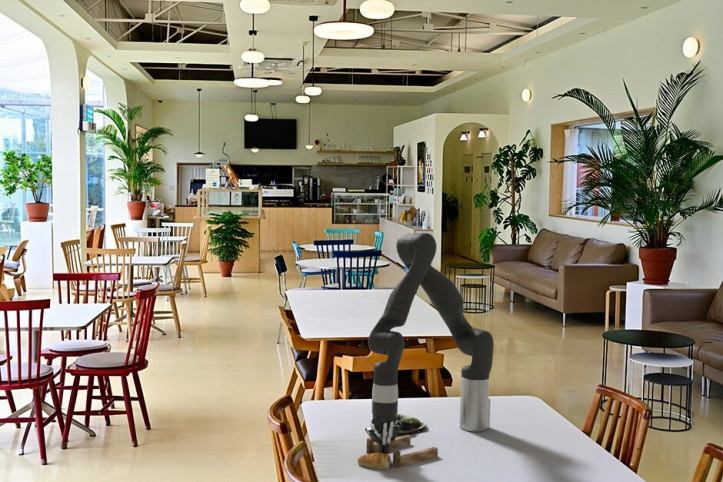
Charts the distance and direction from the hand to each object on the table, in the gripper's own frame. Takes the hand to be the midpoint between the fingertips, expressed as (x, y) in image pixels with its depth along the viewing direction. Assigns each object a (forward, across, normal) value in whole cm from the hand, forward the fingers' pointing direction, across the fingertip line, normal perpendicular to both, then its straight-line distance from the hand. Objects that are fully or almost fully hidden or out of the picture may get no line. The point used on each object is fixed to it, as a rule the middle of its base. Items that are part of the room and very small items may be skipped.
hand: (383, 456), depth 221 cm
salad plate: (+2, -22, -20) cm, 30 cm away
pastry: (+2, +4, +2) cm, 5 cm away
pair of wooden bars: (+1, -7, 0) cm, 7 cm away
